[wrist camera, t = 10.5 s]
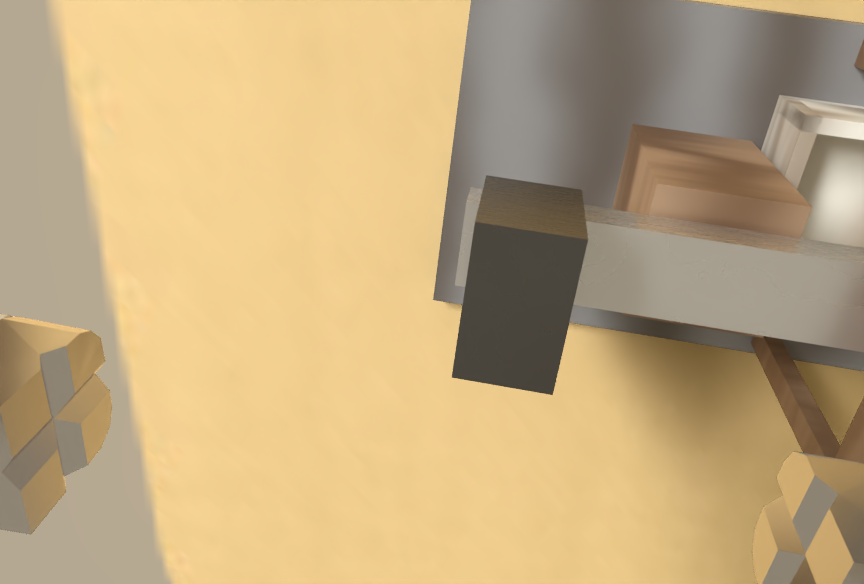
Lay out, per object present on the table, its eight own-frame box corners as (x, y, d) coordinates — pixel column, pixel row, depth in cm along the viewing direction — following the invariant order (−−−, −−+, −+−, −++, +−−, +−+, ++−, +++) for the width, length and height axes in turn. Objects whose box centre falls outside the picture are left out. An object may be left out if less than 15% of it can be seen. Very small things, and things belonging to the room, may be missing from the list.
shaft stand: (436, 290, 37) (379, 477, 25) (476, -28, 30) (426, 9, 18) (933, 372, 35) (1142, 618, 23) (1099, 54, 28) (1530, 159, 16)
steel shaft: (456, 291, 26) (435, 374, 22) (474, 158, 24) (456, 218, 19) (1046, 388, 25) (1166, 501, 20) (1126, 256, 23) (1284, 348, 18)
